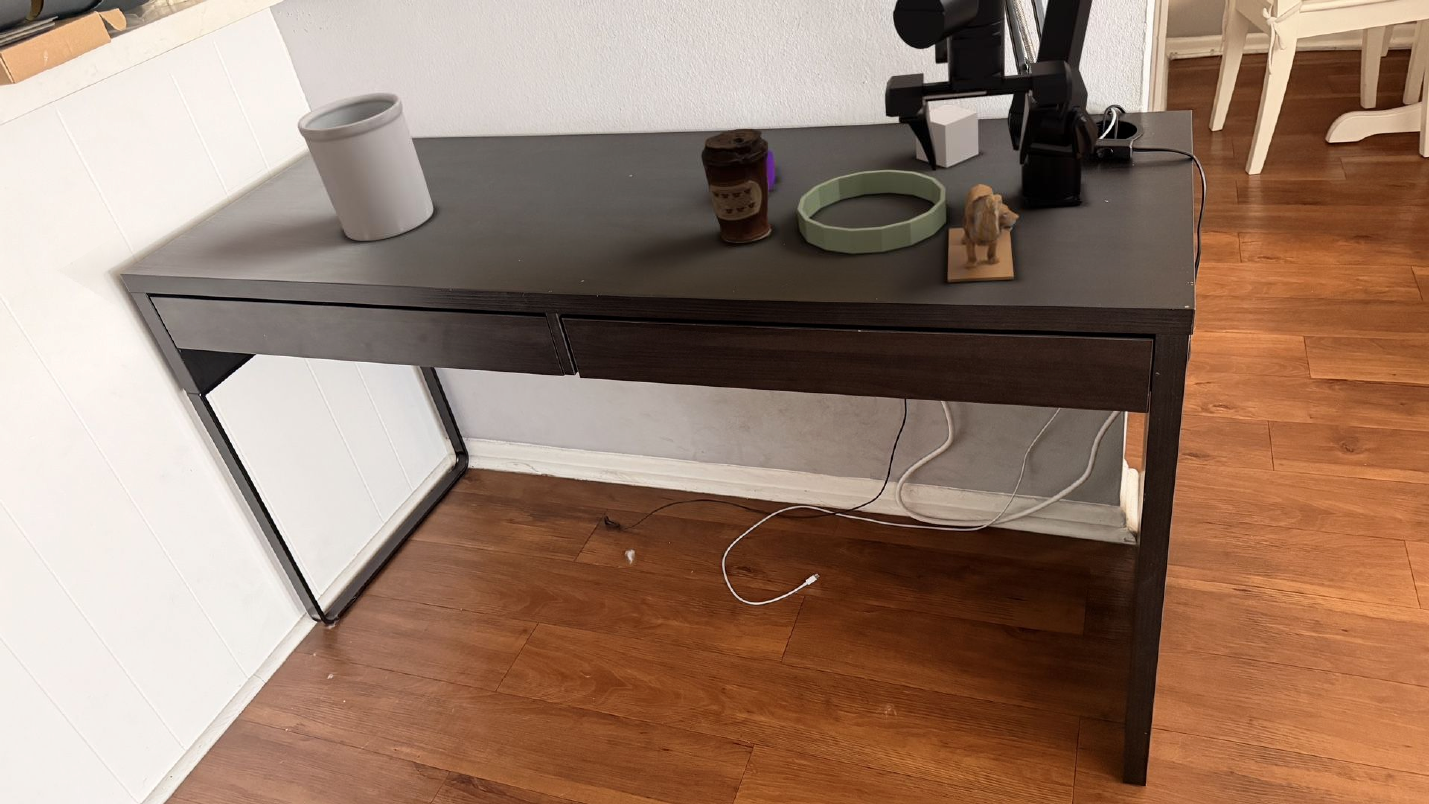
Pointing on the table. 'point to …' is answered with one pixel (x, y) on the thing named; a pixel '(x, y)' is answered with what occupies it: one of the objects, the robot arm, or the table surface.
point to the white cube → (952, 135)
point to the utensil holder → (368, 165)
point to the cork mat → (978, 259)
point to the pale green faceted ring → (877, 236)
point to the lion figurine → (985, 222)
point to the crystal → (770, 169)
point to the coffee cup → (738, 183)
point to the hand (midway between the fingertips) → (977, 166)
